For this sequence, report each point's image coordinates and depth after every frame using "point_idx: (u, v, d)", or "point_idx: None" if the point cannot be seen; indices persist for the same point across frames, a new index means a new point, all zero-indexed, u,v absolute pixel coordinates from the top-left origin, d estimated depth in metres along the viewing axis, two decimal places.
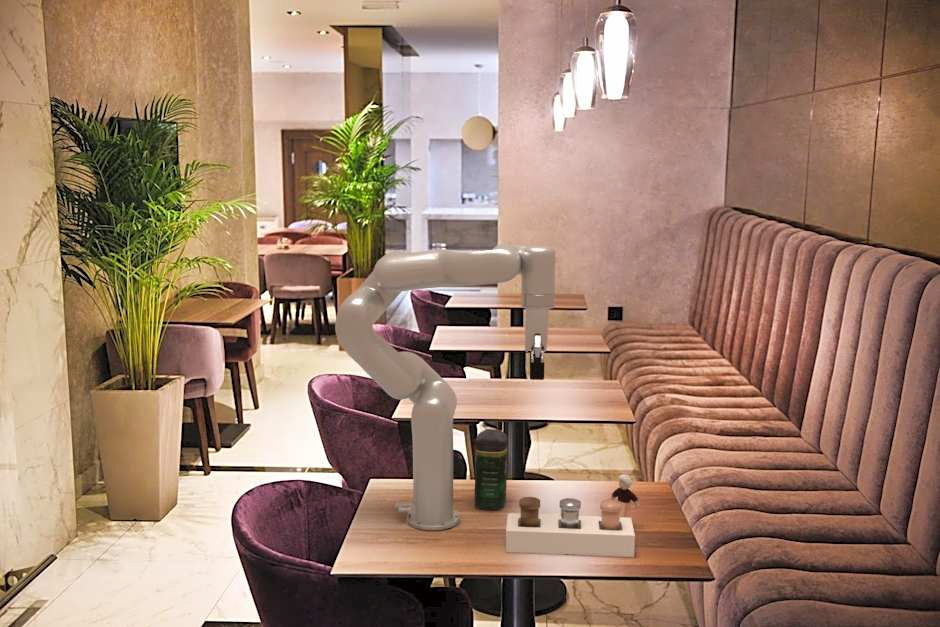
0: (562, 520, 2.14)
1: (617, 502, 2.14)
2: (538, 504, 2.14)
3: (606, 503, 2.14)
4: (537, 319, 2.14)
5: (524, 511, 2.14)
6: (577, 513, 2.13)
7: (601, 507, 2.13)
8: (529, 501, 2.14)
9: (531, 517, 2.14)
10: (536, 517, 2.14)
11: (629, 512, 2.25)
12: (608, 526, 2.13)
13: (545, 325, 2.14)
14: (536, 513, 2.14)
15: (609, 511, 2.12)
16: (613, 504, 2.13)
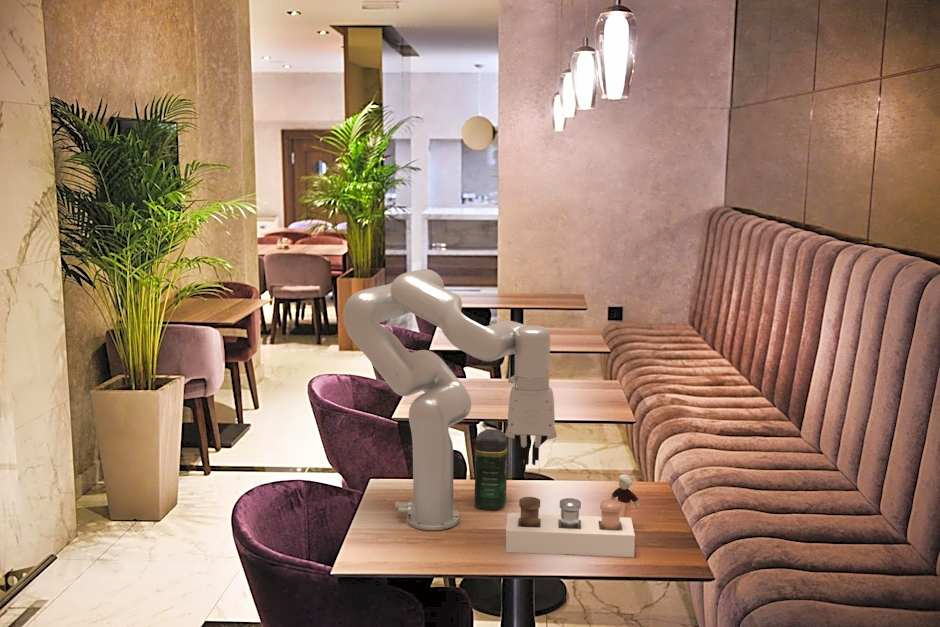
0: (562, 520, 2.14)
1: (617, 502, 2.14)
2: (538, 504, 2.14)
3: (606, 503, 2.14)
4: None
5: (524, 511, 2.14)
6: (577, 513, 2.13)
7: (601, 507, 2.13)
8: (529, 501, 2.14)
9: (531, 517, 2.14)
10: (536, 517, 2.14)
11: (629, 512, 2.25)
12: (608, 526, 2.13)
13: None
14: (536, 513, 2.14)
15: (609, 511, 2.12)
16: (613, 504, 2.13)
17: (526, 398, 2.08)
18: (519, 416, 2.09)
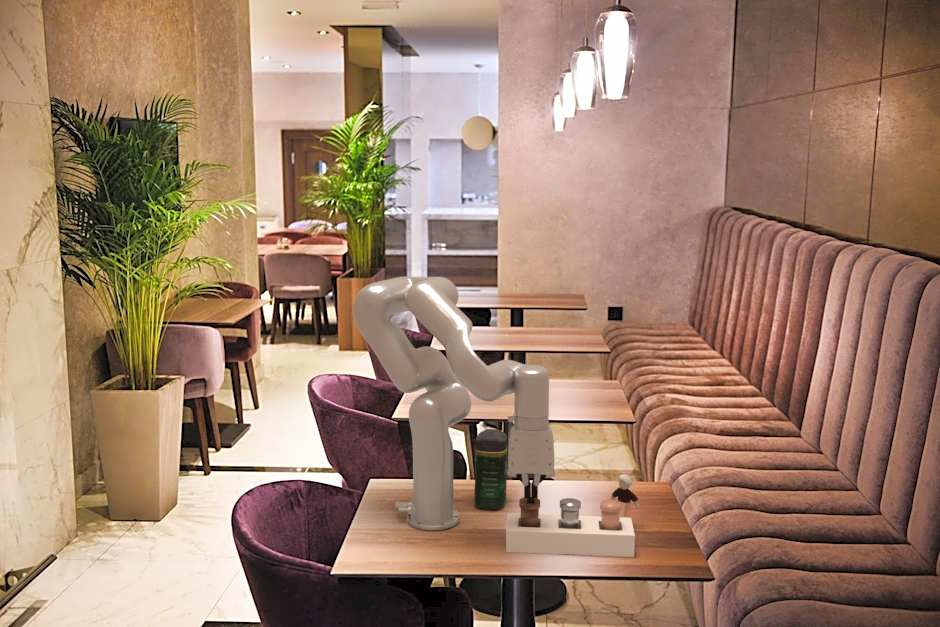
0: (562, 520, 2.14)
1: (617, 502, 2.14)
2: (538, 504, 2.14)
3: (606, 503, 2.14)
4: None
5: (524, 511, 2.14)
6: (577, 513, 2.13)
7: (601, 507, 2.13)
8: None
9: (531, 517, 2.14)
10: (536, 517, 2.14)
11: (629, 512, 2.25)
12: (608, 526, 2.13)
13: None
14: (536, 513, 2.14)
15: (609, 511, 2.12)
16: (613, 504, 2.13)
17: (526, 437, 2.10)
18: (519, 455, 2.10)
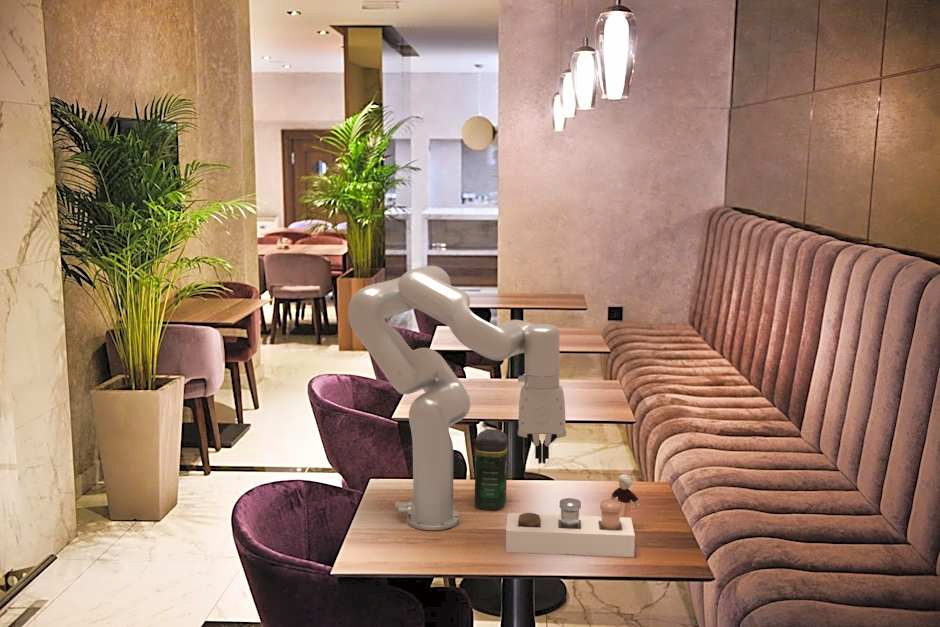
0: (562, 520, 2.14)
1: (617, 502, 2.14)
2: (538, 520, 2.14)
3: (606, 503, 2.14)
4: None
5: None
6: (577, 513, 2.13)
7: (601, 507, 2.13)
8: (529, 518, 2.15)
9: None
10: None
11: (629, 512, 2.25)
12: (608, 526, 2.13)
13: None
14: None
15: (609, 511, 2.12)
16: (613, 504, 2.13)
17: (537, 396, 2.08)
18: (530, 415, 2.08)
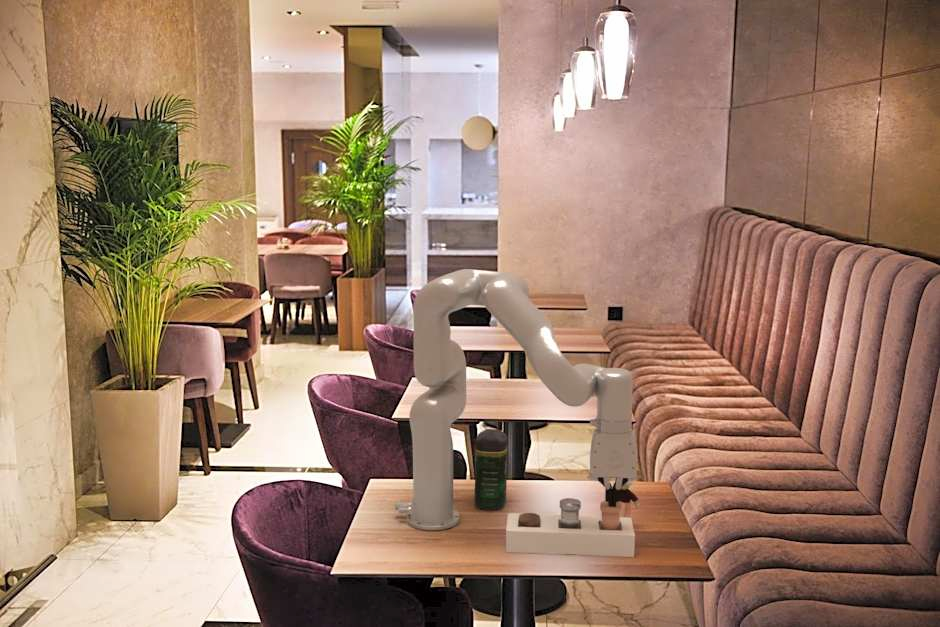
0: (562, 520, 2.14)
1: (617, 503, 2.14)
2: (538, 520, 2.14)
3: (606, 504, 2.14)
4: None
5: None
6: (577, 513, 2.13)
7: (601, 508, 2.13)
8: (529, 518, 2.15)
9: None
10: None
11: (629, 512, 2.25)
12: (608, 527, 2.13)
13: None
14: None
15: (609, 512, 2.12)
16: None
17: (609, 441, 2.08)
18: (602, 459, 2.09)
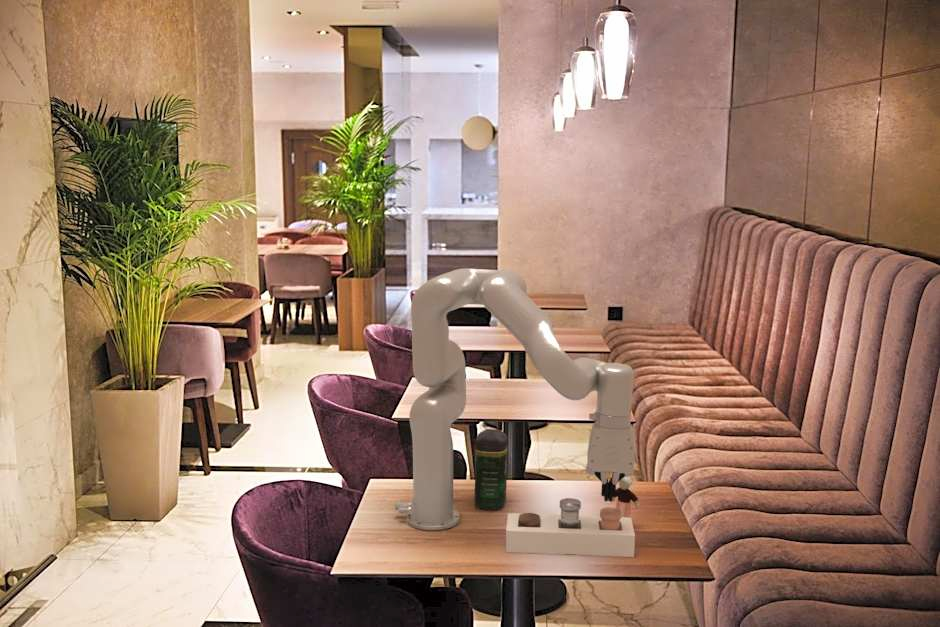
0: (562, 520, 2.14)
1: (617, 510, 2.15)
2: (538, 520, 2.14)
3: (606, 511, 2.14)
4: None
5: None
6: (577, 513, 2.13)
7: (601, 515, 2.13)
8: (529, 518, 2.15)
9: None
10: None
11: (629, 512, 2.25)
12: None
13: None
14: None
15: (609, 519, 2.12)
16: (613, 512, 2.13)
17: (608, 435, 2.08)
18: (600, 453, 2.09)
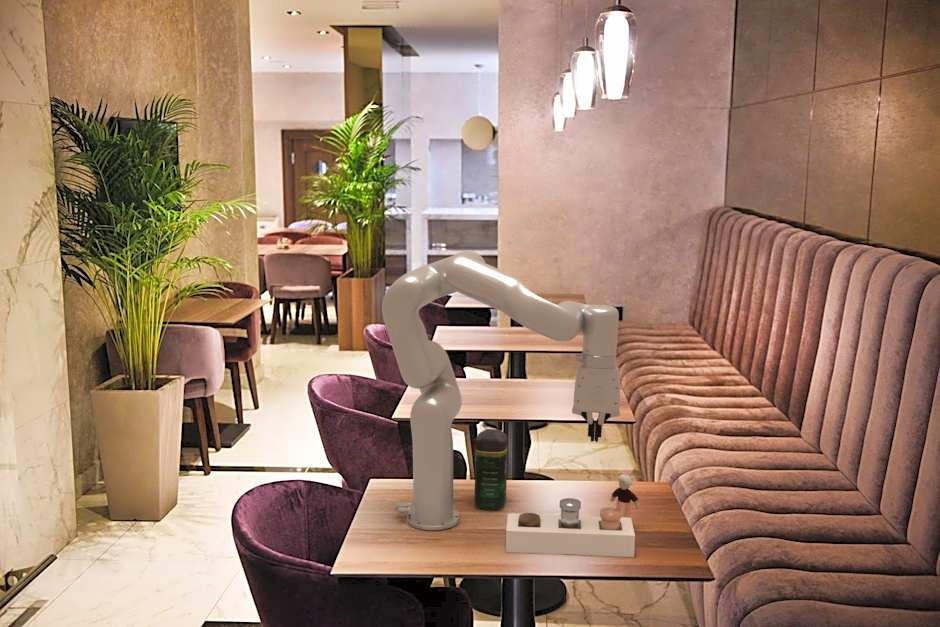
0: (562, 520, 2.14)
1: (617, 510, 2.15)
2: (538, 520, 2.14)
3: (606, 511, 2.14)
4: None
5: None
6: (577, 513, 2.13)
7: (601, 515, 2.13)
8: (529, 518, 2.15)
9: None
10: None
11: (629, 512, 2.25)
12: None
13: None
14: None
15: (609, 519, 2.12)
16: (613, 512, 2.13)
17: (593, 375, 2.12)
18: (585, 393, 2.13)
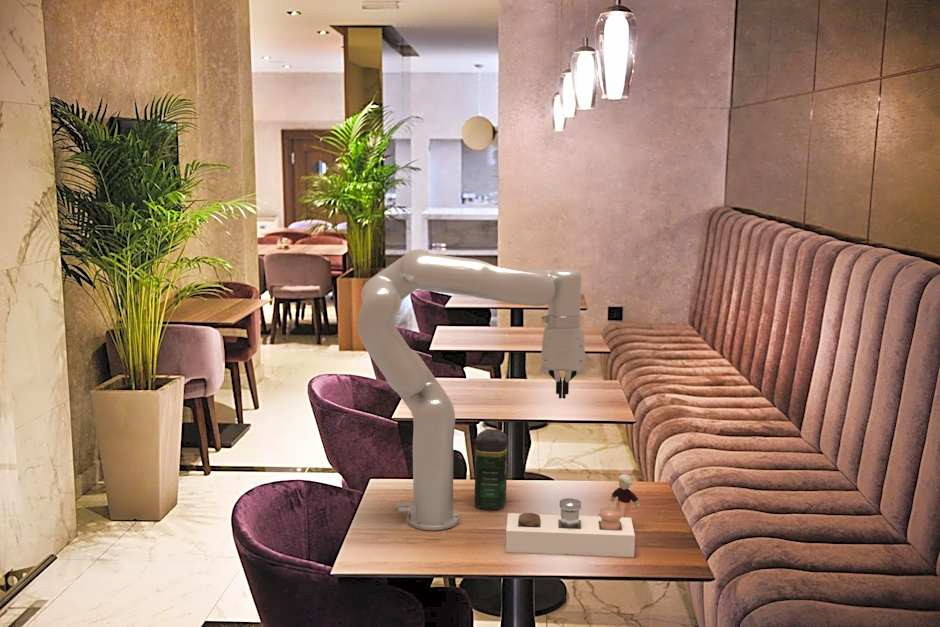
0: (562, 520, 2.14)
1: (617, 510, 2.15)
2: (538, 520, 2.14)
3: (606, 511, 2.14)
4: None
5: None
6: (577, 513, 2.13)
7: (601, 515, 2.13)
8: (529, 518, 2.15)
9: None
10: None
11: (629, 512, 2.25)
12: None
13: None
14: None
15: (609, 519, 2.12)
16: (613, 512, 2.13)
17: (559, 335, 2.24)
18: (552, 352, 2.25)
